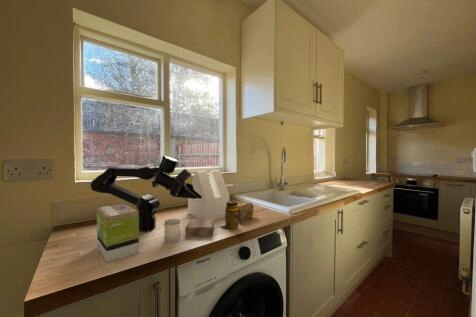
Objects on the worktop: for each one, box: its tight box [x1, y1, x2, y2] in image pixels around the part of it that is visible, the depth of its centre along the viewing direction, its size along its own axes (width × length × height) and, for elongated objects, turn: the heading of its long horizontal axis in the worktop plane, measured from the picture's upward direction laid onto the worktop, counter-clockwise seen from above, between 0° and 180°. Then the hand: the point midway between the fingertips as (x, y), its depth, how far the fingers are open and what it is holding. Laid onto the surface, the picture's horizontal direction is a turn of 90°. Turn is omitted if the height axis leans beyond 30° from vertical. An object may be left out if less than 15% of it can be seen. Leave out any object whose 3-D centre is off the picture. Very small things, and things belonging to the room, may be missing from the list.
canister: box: [163, 218, 181, 244], centre depth 81 cm, size 6×6×8 cm
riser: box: [184, 218, 215, 238], centre depth 90 cm, size 11×11×4 cm
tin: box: [237, 202, 254, 223], centre depth 108 cm, size 15×3×8 cm, turn 148°
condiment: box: [218, 200, 242, 233], centre depth 95 cm, size 7×8×12 cm
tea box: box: [96, 203, 140, 263], centre depth 72 cm, size 15×10×15 cm, turn 45°
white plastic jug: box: [187, 169, 230, 220], centre depth 117 cm, size 19×15×25 cm
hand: (199, 197), depth 90 cm, fingers open, 9 cm apart
